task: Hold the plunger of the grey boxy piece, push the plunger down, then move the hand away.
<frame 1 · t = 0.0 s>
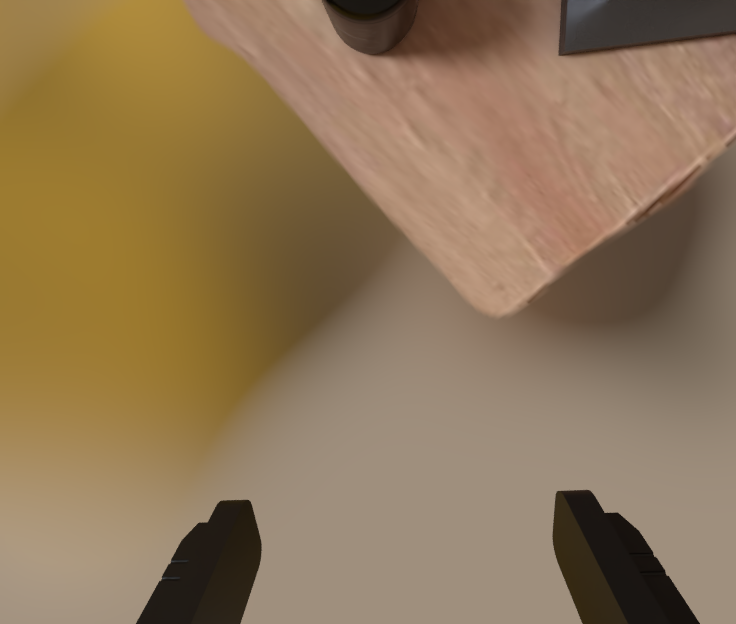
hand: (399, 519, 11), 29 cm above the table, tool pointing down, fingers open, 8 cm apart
supplement bottle: (373, 4, 31), on the table
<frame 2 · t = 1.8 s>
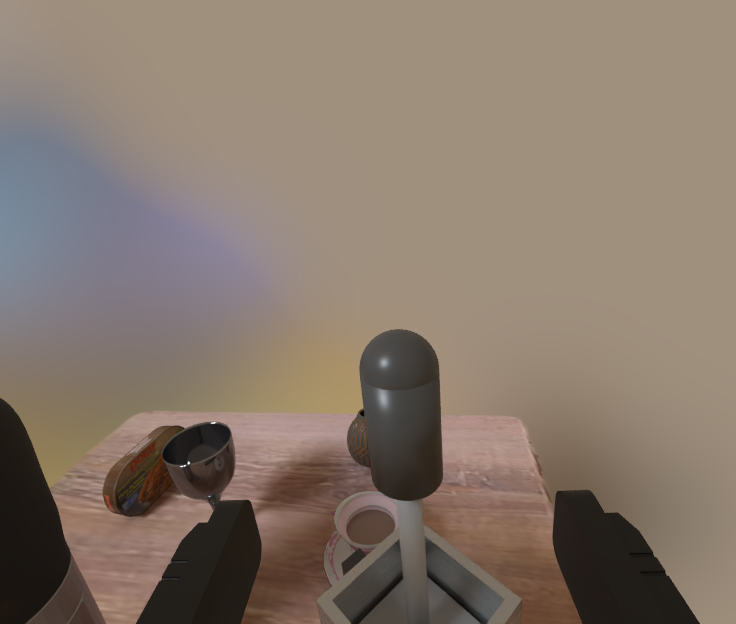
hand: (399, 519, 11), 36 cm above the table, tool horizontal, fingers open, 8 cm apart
plunger: (410, 515, 25), point 24 cm above the table, slide at 0.0 cm
teacup: (373, 556, 50), on the table
tin: (158, 489, 64), on the table
vase: (371, 459, 66), on the table
wine glass: (224, 534, 55), on the table
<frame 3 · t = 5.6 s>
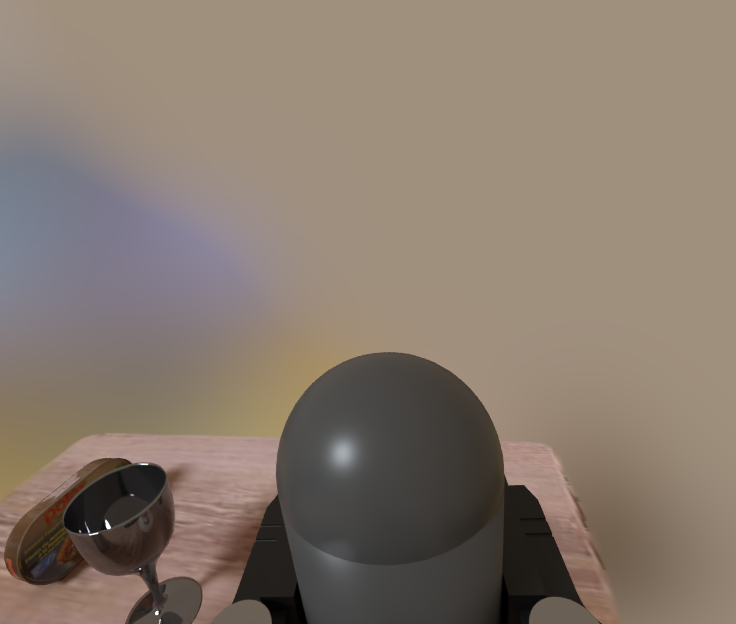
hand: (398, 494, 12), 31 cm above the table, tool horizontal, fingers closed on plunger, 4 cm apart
tin: (91, 541, 50), on the table
wine glass: (164, 612, 41), on the table
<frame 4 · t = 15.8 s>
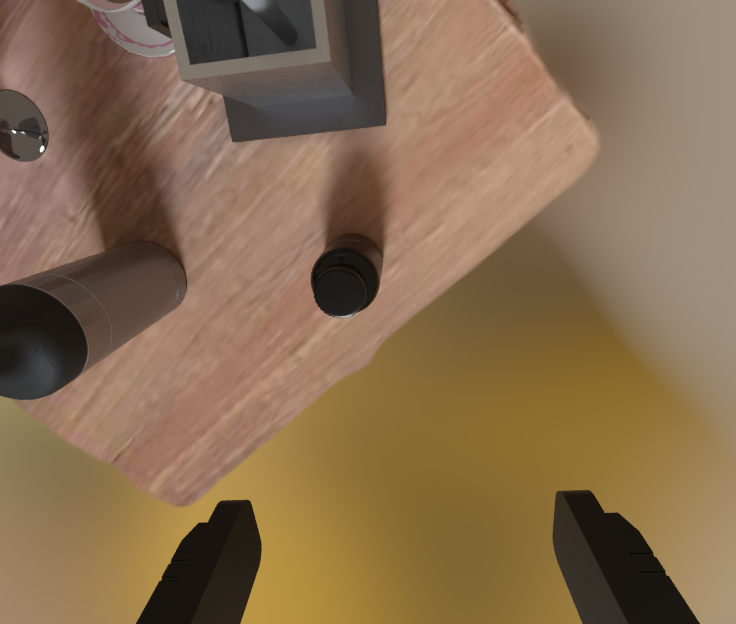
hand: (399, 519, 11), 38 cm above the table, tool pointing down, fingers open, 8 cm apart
wine glass: (17, 126, 44), on the table
grey boxy piece: (297, 45, 40), on the table
supplement bottle: (353, 261, 48), on the table
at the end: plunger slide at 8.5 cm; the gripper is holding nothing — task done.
